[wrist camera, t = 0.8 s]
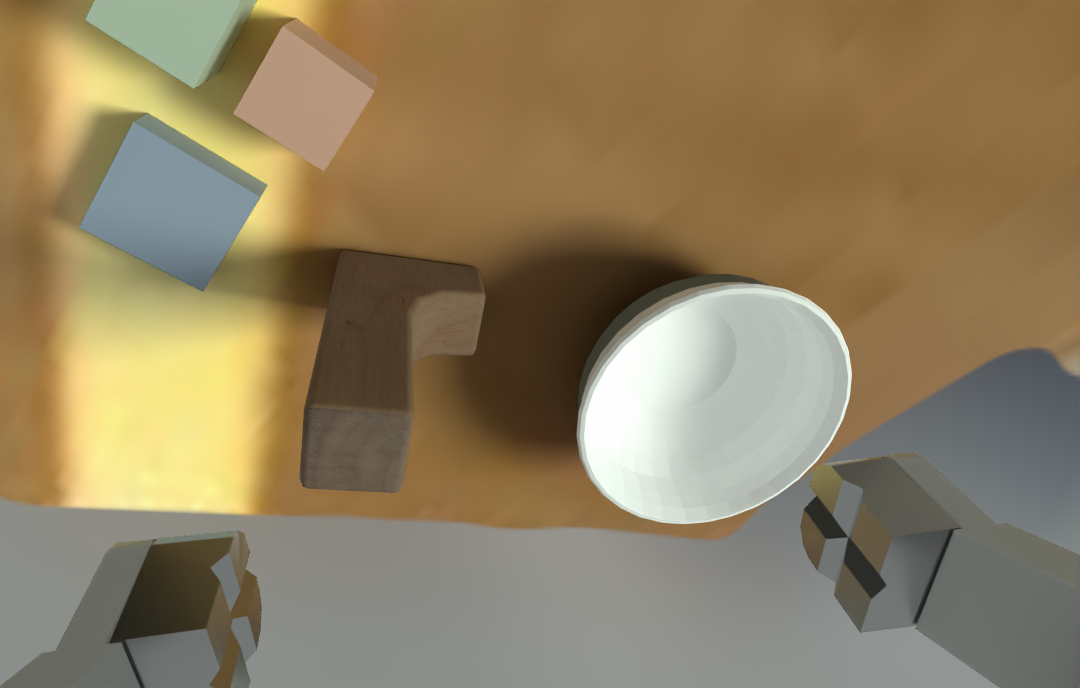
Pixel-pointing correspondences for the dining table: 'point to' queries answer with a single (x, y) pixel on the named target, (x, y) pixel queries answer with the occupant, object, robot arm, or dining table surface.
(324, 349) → the wooden block
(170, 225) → the slate blue block
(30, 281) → the dining table surface
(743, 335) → the bowl
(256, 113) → the pinkish brown cube
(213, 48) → the sage green cube
